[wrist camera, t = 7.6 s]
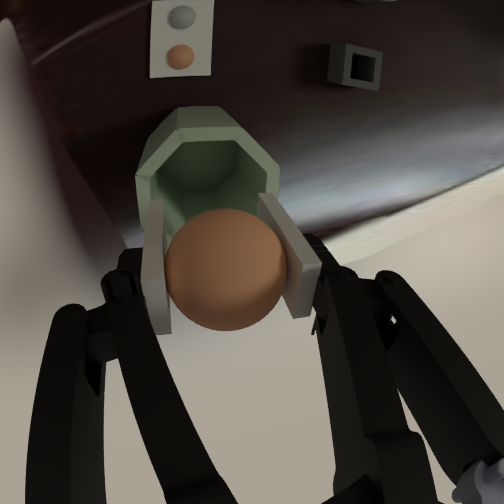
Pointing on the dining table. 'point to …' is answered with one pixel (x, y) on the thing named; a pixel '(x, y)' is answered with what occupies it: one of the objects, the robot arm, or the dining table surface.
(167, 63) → the card
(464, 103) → the dining table surface
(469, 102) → the dining table surface
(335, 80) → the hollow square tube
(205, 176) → the beaker sage
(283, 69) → the dining table surface
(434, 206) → the dining table surface
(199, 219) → the terracotta ball
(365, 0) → the cradle grey
